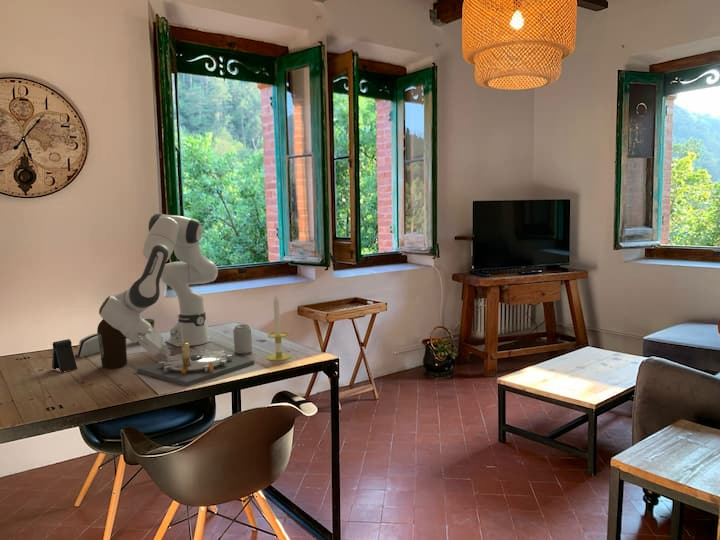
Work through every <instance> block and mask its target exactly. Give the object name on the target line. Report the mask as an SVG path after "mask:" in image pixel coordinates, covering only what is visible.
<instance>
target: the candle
mask: <svg viewBox="0 0 720 540" xmlns="http://www.w3.org/2000/svg"><path fill="white" fill-rule="evenodd" d="M273 314H274V315H273V316H274V331H275V332H271V333H269V334H268V335H267V337H268V338H270V339H271V338H272V339H274V340H275V341H274V343H275V344H274V345H275V353H274V354H271V355H268V356H267V357H266V359H267V360H268V361H271V362H272V361H273V362H279V361H287V360H289V359H291V357H292V355H291V354H289V353H283V349H282V348H283V347H282V344H283V343H282V338H286V337H288V335H289V333H288V332H286V331H285V332H283V331H281V320H280V319H281V317H280V315H281V314H280V301H279V299H278V295H275V297H274V299H273Z"/></svg>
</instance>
